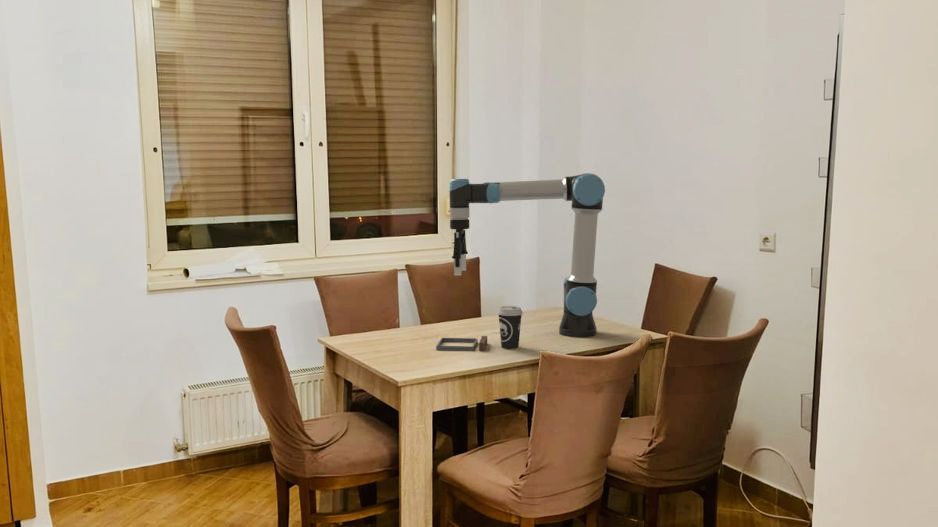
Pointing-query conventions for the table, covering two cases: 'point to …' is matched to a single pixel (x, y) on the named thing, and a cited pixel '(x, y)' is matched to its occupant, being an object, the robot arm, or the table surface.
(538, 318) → the table surface
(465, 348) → the frame
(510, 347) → the coffee cup
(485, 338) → the edge strip
